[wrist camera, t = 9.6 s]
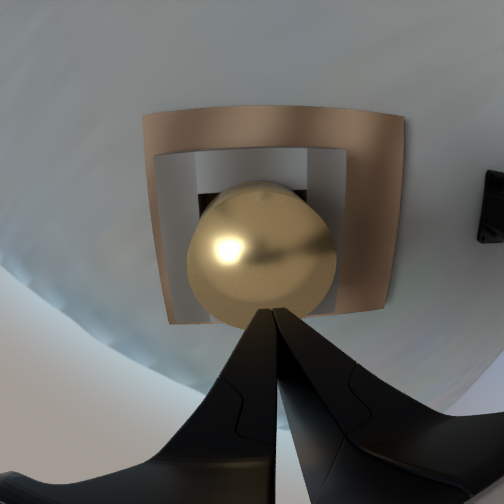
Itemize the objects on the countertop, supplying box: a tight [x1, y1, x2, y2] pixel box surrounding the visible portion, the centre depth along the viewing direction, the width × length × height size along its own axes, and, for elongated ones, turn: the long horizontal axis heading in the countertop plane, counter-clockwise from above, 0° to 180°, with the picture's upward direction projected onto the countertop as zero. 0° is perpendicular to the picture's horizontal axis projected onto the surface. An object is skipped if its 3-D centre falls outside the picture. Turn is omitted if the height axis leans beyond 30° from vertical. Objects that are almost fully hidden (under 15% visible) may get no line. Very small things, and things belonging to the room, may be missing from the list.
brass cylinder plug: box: [186, 181, 337, 330], centre depth 15 cm, size 6×6×6 cm
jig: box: [143, 106, 404, 324], centre depth 17 cm, size 16×14×4 cm
